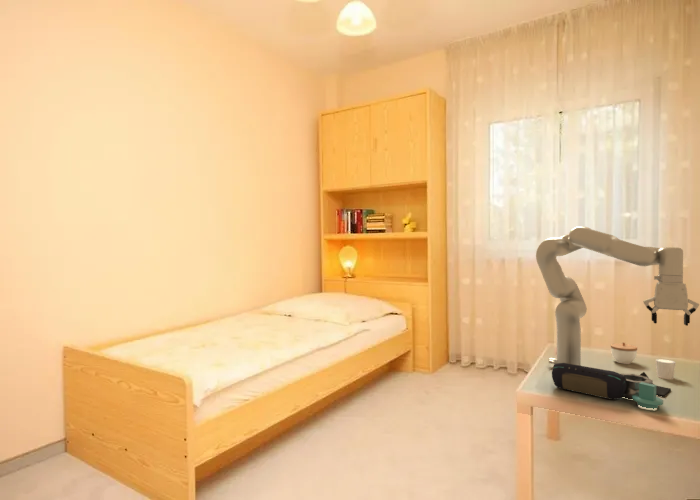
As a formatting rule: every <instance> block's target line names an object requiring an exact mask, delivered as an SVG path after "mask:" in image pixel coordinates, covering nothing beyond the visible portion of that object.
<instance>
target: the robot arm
mask: <svg viewBox="0 0 700 500" xmlns="http://www.w3.org/2000/svg"><path fill="white" fill-rule="evenodd" d="M581 249H585V250H589V251H592V252H596V253H599V254H602V255H605V256H607V257H611V258H615V259H617V260H620V261H623V262H626V263H629V264H631V265H632V264H633V265H636V266H640V267H649V266H658V275H653V280H655V281H658V282H656V283H655V287H654V295H653V296H652V297H650V298H647V299H645V300H643V304H644V306H645V308H646V309H647V310H648V311H649V312H650V313H651V321H652V323H653V324H655V325H656V324H657V323H658V313H657V311H658V310H659V309H660V310H669V311H671V310H672V311H683V312H684V314H683V325H685V326H686V327H687V326H688V325H689V324H690V322H691V315H693V313H695V312H696V310H697V309H698V308H699V306H700V304H699V303H698V302H696V301H694V300H691V299H689V298H688V289H687V285H686V283H684V250H683V248H681V247H673V246H672V247H669V246H668V247H666V246H665V247H656V246H655V247H653V246H643V245H639V244H636V243H631V242H628V241H625V240H623V239H620V238H619V237H617V236H615V235H613V234H609V233H606V232H601V231H598V230H594V229H592V228H590V227H587V226H576V227H574V228H572V229H571V230H570V231H569V232H568V233H567V234H564V235H562V236H560V237H549V238H547V239H544V240H542V242H541V243H540V244H539V245H538V247H537V249H536V252H535V259H536V260H535V261H536V262H537V265H538V267H539V270H540V273H541V274H542V278H543V280H544V283H545V285H546V287H547V290H548V293H549V294H550V295H551V296H552V297H554V298H555V299H559V300H560V302H559V303H558V304H557V305H556V308H555V311H554V313H555V322H556V323H555V324H556V358H553V357H549V358H548V363H549V364H552V365H554V364H557V363H567V364H573V365H579V366H582V363H581V362H582V356H581V355H582V346H581V345H582V334H581V333H582V331H581V322H580V321H581V320H580V319H582V318H584V317H585V315H586V314H587V310H588V309H587V304H586V301H585V300H584V298H583V296H582V294H581V291H580V288H579V286H578V284H577V282H576V281H575V280H574V278H572V277H570V276H566V275H565V272H564V271H563V268H562V266H561V265H560V263H559V261H558V260H557V257H562V256H565V255H568V254H571V253H573V252H577V251H579V250H581ZM652 302H653V307H652V306H650V303H652ZM689 304H690V305H692V307H691V308H689ZM688 308H689V309H688Z"/></svg>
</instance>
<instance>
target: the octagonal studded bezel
mask: <svg viewBox="0 0 700 500" xmlns="http://www.w3.org/2000/svg"><path fill="white" fill-rule="evenodd" d="M621 374H622V375H623V376H625V378H626V384H627V386H626V392H625V393H624V395H623V396H622V397H625V398H628V399H632V396H633V395H635V394H639V383H641V382H644V383H648V384H654V383H653V381H654V380H653V379H651V378H649V377H648V378H647V377H645V376H640V374H635V373H621Z"/></svg>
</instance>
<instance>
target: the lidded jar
mask: <svg viewBox="0 0 700 500" xmlns="http://www.w3.org/2000/svg"><path fill="white" fill-rule="evenodd" d="M610 352H611V356H612V358H613V359H614V360H615V362H616V363H618V364H623V365H624V364H625V365H631V364H632V363H633V362H635V360H636V358H637V354H638V346H636V345H633V344H628V343H626V342H622V343H612V344H610Z"/></svg>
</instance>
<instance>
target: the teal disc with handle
mask: <svg viewBox="0 0 700 500" xmlns="http://www.w3.org/2000/svg"><path fill="white" fill-rule="evenodd" d="M653 384H654V383H653ZM653 384H648V383H644V382H641V383H639V394H635V395H633V396H632V399H633V400H634V401H633V402H636V405H637V404H638V405H640V406H642V407H646V408H653V409H654V408H658V409H659V407H660V406H663V405H664V400H663V399H662V398H660V397H659V396H656V386H657V385H656V384H654V385H653Z"/></svg>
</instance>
